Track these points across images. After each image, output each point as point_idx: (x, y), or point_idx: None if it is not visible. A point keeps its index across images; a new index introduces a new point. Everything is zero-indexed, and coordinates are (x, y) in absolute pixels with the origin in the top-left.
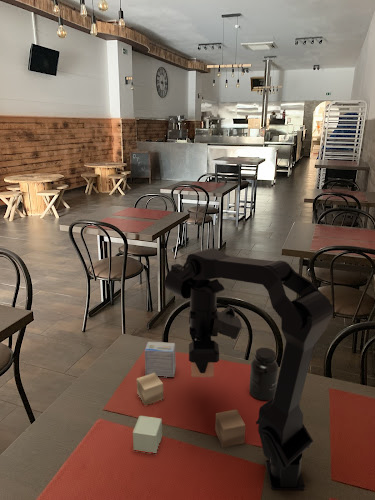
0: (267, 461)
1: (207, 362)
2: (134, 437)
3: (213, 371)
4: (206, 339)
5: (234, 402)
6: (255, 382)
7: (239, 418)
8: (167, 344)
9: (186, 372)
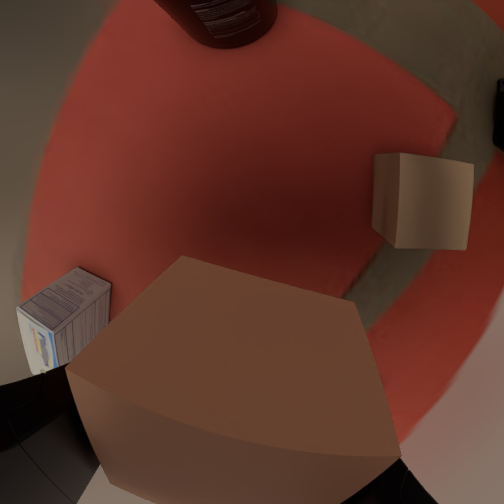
0: (497, 140)
1: (410, 482)
2: None
3: (363, 330)
4: (23, 457)
5: (257, 112)
6: (241, 10)
7: (444, 167)
8: (26, 333)
9: (90, 238)
